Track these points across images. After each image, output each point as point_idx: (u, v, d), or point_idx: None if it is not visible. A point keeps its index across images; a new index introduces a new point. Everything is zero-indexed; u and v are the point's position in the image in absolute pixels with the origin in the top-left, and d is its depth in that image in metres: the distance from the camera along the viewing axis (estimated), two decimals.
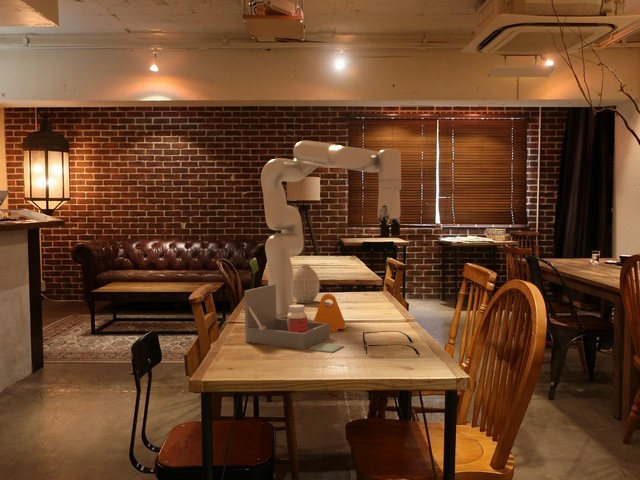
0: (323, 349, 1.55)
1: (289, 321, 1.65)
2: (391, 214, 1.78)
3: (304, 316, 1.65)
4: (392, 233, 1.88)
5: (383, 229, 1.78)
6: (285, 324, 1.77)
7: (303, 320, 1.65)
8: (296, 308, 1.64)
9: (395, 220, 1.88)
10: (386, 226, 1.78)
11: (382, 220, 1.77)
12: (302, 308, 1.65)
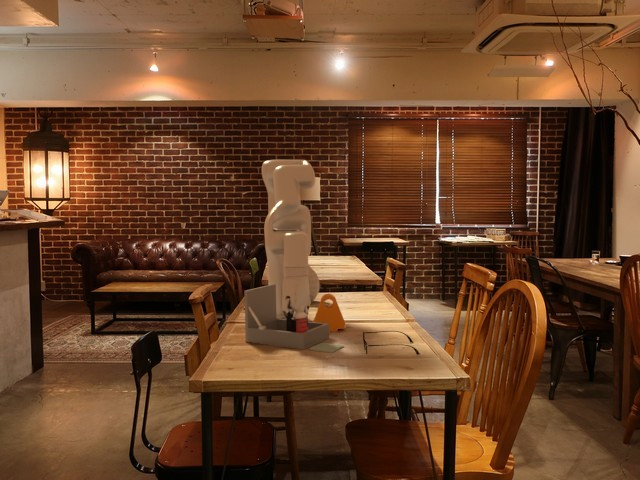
0: (323, 349, 1.55)
1: None
2: (295, 305, 1.62)
3: (304, 316, 1.65)
4: None
5: (289, 324, 1.63)
6: (285, 324, 1.77)
7: (303, 320, 1.65)
8: None
9: None
10: (292, 321, 1.63)
11: (287, 315, 1.62)
12: (302, 308, 1.65)
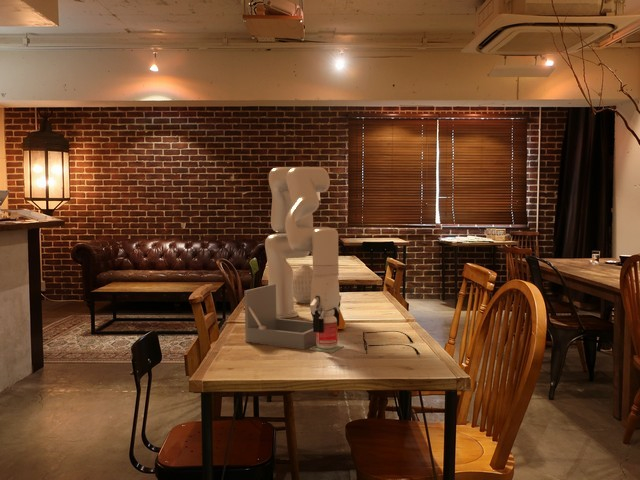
0: (323, 349, 1.55)
1: None
2: (325, 306, 1.52)
3: (334, 320, 1.56)
4: None
5: (316, 324, 1.52)
6: (285, 324, 1.77)
7: (333, 325, 1.55)
8: (326, 312, 1.55)
9: (334, 308, 1.62)
10: (319, 320, 1.52)
11: (314, 314, 1.51)
12: (332, 312, 1.56)
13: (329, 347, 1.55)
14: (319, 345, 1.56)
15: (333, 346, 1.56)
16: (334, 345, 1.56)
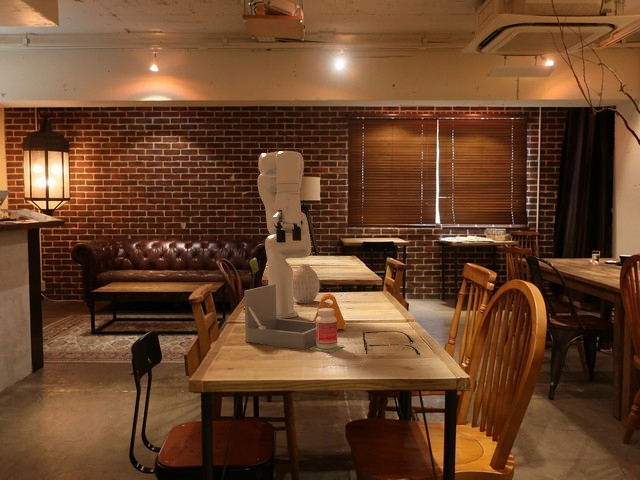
0: (323, 349, 1.55)
1: (318, 326, 1.56)
2: (287, 219, 1.72)
3: (334, 320, 1.56)
4: (293, 238, 1.81)
5: (279, 234, 1.72)
6: (285, 324, 1.77)
7: (333, 325, 1.55)
8: (326, 312, 1.55)
9: (297, 225, 1.82)
10: (282, 231, 1.72)
11: (277, 225, 1.70)
12: (332, 312, 1.56)
13: (329, 347, 1.55)
14: (319, 345, 1.56)
15: (333, 346, 1.56)
16: (334, 345, 1.56)
